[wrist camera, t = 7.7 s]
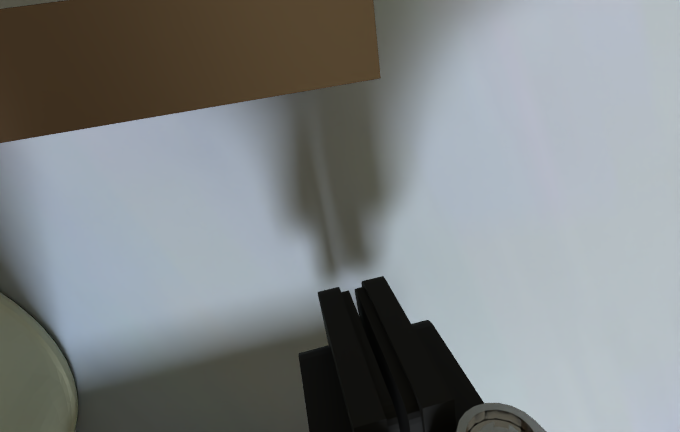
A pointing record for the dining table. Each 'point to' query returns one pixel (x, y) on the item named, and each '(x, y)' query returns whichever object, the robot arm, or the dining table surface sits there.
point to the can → (33, 376)
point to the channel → (171, 57)
